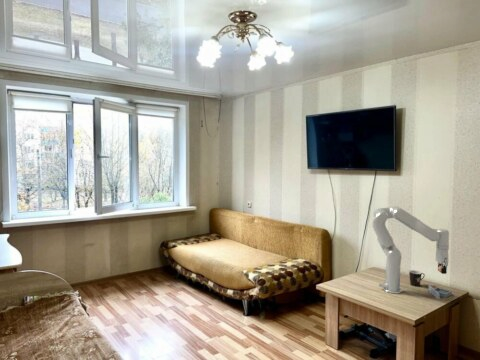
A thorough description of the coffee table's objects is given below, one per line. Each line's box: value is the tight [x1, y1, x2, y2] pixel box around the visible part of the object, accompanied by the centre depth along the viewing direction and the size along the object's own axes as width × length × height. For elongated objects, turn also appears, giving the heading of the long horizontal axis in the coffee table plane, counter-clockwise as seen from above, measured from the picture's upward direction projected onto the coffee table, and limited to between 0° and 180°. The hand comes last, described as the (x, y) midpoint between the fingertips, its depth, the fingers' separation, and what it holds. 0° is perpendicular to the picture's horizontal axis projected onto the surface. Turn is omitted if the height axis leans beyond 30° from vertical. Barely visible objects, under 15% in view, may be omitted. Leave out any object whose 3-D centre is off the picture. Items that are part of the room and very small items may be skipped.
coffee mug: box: [408, 269, 425, 288], centre depth 261 cm, size 12×9×10 cm
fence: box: [427, 285, 441, 300], centre depth 243 cm, size 2×15×4 cm, turn 172°
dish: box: [430, 286, 453, 298], centre depth 244 cm, size 10×10×2 cm
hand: (442, 272), depth 243 cm, fingers closed on ball, 4 cm apart
